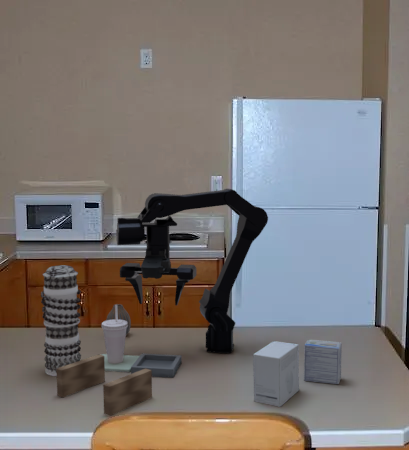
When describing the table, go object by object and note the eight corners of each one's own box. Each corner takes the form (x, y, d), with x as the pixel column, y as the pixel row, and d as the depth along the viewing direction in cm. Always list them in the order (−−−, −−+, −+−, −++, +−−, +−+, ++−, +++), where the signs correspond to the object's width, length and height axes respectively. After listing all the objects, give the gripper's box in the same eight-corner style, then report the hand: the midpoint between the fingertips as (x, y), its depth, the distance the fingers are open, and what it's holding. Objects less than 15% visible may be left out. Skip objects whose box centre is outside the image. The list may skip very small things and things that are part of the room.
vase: (133, 332, 185) (132, 302, 184) (128, 339, 179) (127, 308, 177) (109, 331, 186) (109, 301, 185) (103, 338, 179) (102, 307, 178)
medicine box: (341, 378, 149) (342, 342, 148) (338, 385, 145) (339, 347, 144) (307, 374, 151) (307, 338, 150) (303, 381, 147) (304, 344, 146)
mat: (140, 358, 163) (140, 355, 163) (129, 372, 153) (129, 369, 153) (102, 356, 165) (101, 354, 164) (88, 369, 155) (88, 367, 155)
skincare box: (272, 385, 145) (273, 339, 144) (299, 390, 142) (300, 344, 140) (251, 401, 136) (252, 352, 135) (280, 407, 133) (280, 358, 131)
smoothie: (133, 362, 158) (132, 306, 157) (109, 367, 155) (108, 310, 153) (121, 355, 164) (119, 300, 162) (97, 359, 160) (96, 304, 158)
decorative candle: (57, 361, 161) (53, 262, 157) (90, 366, 157) (87, 264, 154) (35, 374, 152) (31, 269, 149) (70, 378, 149) (66, 272, 146)
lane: (99, 379, 148) (98, 354, 148) (152, 397, 138) (151, 370, 137) (57, 395, 139) (56, 368, 138) (110, 415, 129) (109, 386, 128)
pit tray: (181, 363, 159) (181, 355, 159) (173, 377, 149) (173, 369, 149) (142, 361, 161) (141, 353, 161) (131, 375, 151) (131, 367, 151)
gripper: (112, 248, 156) (113, 311, 158) (188, 250, 153) (188, 314, 155) (125, 241, 167) (126, 300, 169) (196, 242, 164) (196, 302, 166)
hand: (158, 304), depth 165 cm, fingers open, 9 cm apart
